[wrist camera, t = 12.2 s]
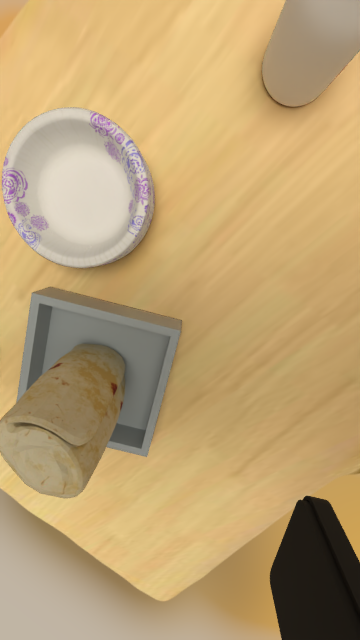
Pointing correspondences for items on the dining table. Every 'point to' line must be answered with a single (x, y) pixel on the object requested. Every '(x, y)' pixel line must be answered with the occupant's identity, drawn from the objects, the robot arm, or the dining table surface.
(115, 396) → the food model
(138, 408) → the bin
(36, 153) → the paper bowls
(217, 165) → the dining table surface
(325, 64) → the milk bottle
